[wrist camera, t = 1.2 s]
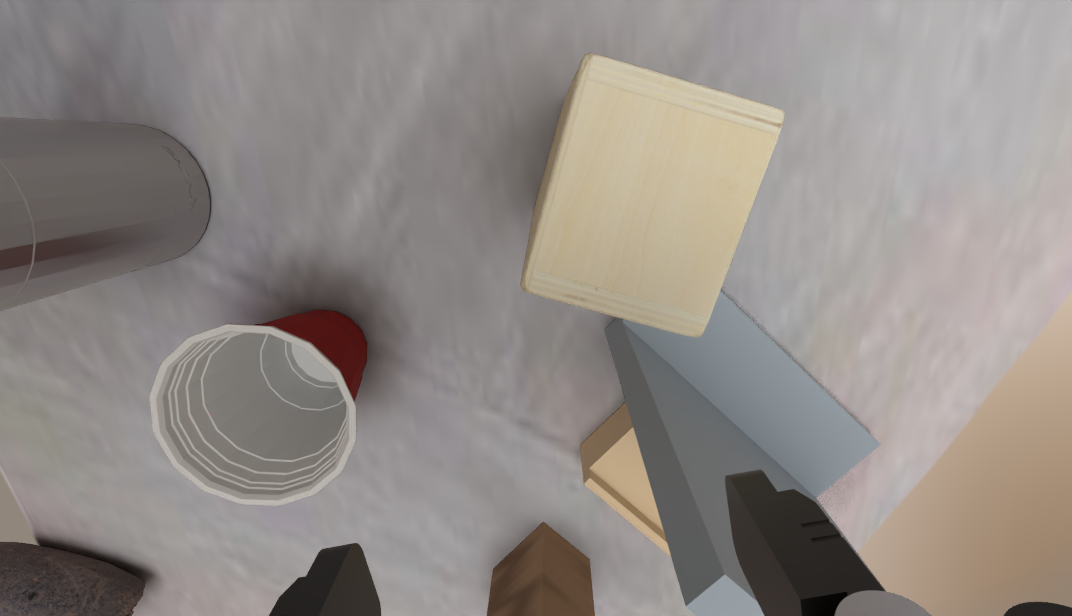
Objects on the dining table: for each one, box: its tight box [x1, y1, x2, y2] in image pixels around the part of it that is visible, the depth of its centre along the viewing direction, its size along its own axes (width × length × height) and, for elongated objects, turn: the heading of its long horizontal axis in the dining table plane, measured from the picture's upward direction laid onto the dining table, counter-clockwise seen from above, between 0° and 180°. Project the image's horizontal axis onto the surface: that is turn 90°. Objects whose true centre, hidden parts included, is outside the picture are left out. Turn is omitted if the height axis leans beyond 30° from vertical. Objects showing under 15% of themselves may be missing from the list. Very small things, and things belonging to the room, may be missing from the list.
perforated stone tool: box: [0, 542, 145, 616], centre depth 45 cm, size 15×5×7 cm, turn 68°
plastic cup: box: [149, 310, 367, 506], centre depth 37 cm, size 11×11×12 cm
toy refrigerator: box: [520, 53, 785, 337], centre depth 29 cm, size 8×7×21 cm
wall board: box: [580, 290, 885, 616], centre depth 31 cm, size 15×20×26 cm
